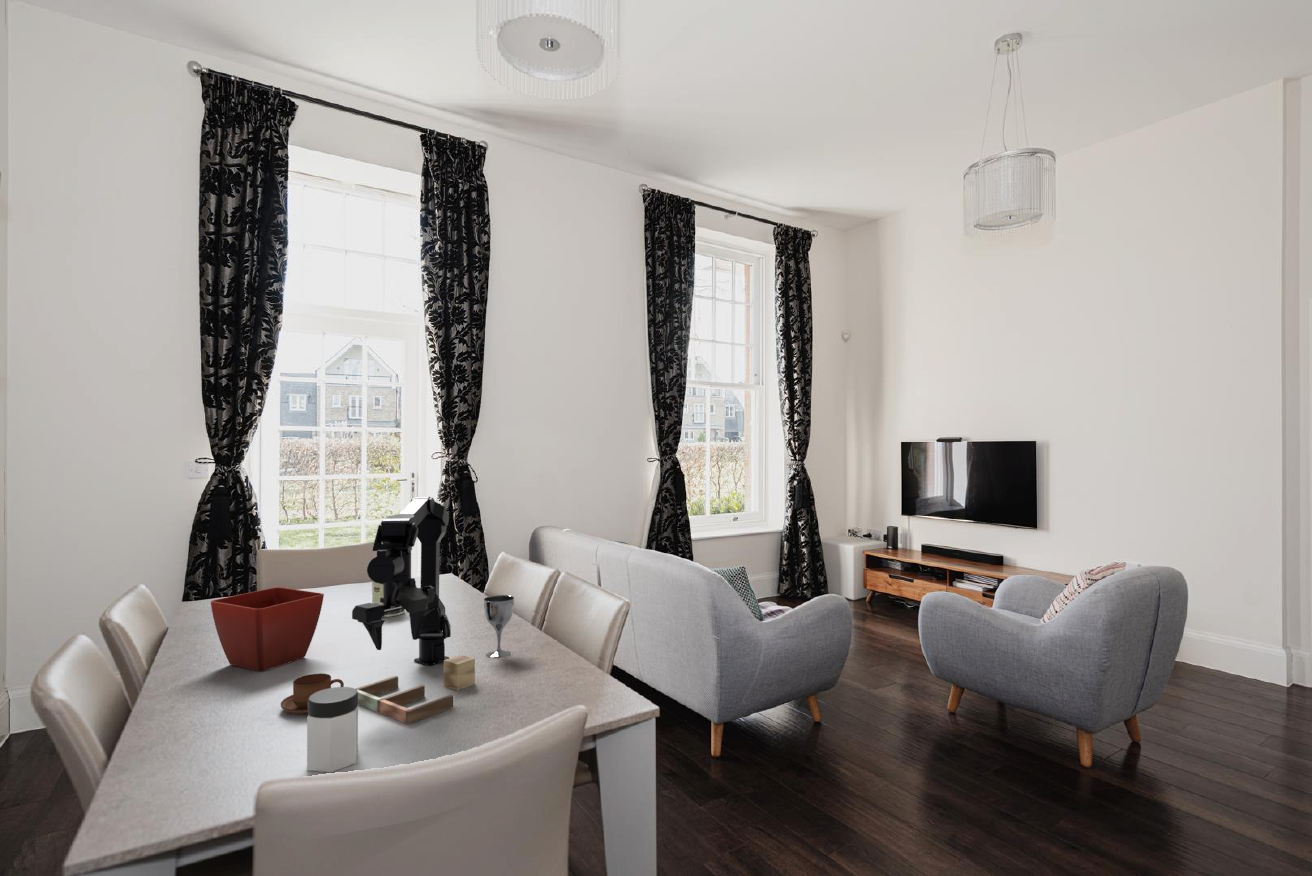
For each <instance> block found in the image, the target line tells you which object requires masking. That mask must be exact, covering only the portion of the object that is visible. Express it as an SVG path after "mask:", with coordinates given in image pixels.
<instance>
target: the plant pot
mask: <svg viewBox="0 0 1312 876" xmlns="http://www.w3.org/2000/svg"><path fill="white" fill-rule="evenodd" d="M324 596H325V594H324V593H323V592H322V593H320V592H315V591H309V590H307V591H306V590H301V589H295V588H293V589H292V588H288V587H281V586H278V587H271V588H265V589H261V590H256V591H252V592H251V591H250V592H247V593H242V594H236V595H231V596H227V597H222V598H221V597H220V598H216V599H213V600H211V601H210V606H211V613H212V618H213V622H214V626H215V629H216V633H217V636H218V640H219V643H220V645H221V647H222V649H223V652H224V655H225V656H226V659H227V661H228V663H229V665H231V666H236V667H240V668H244V669H248V670H250V671H251V670H252V671H257V672H263V671H268V670H271V669H275V668H276V667H281V666H283V665H287V664H289V663H293V662H296V661H298V660H301V659H305V657H306V655H307V653H308V651H309V648H310V646H311V644H312V641H313V638H314V635H315V633H316V629H317V627H318V623H319V619H320V615H321V612H322V607H323V603H324V602H323V601H324Z"/></svg>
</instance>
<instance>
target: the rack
mask: <svg viewBox="0 0 1312 876" xmlns="http://www.w3.org/2000/svg"><path fill="white" fill-rule="evenodd" d="M397 688H399V676H398V675H395V676H391V677H387V678H385V679H381V680H378V681H376V682H373V683H368V684H366V685H362V686H360V687H357V688H355V689H356V690H357V691H358V706H359V705H360V706H362V707H365V708H366V709H370V710H372V711H374V712H377V713H379V714H382V715H384V716H386V717H389V718H392V719H395V720H397V721H399V722H402V723H404V724H407V725H411V724H413V723H416V722H418V721H421V720H424V719H426V718H429V717H432V716H433V715H436V714H438V713H441V712H444V711H446V710H447V711H448V710H449V709H452V708H454V695H453V694H447V695H446V696H442V697H440V698H437V699H434V700H432V701H429V702H428V701H427V702H425V703H423V704H420V705H418V706H415V707H412V708H408V707H405V705H407V704H408V703H412V702H414V701H417V700H420V699H423V698H425V696H426V693H425V692H426V686H425V684H421V685H418V686H415V687H412V688H409V689H406V690H405V689H404V690H403V691H399V692H397V693H394V694H391V695H388V696H385V697H382V698H381V697H379V696H377V695H380V694H383V693H386V692H389V691H392V690H395V689H397ZM403 705H404V706H403Z"/></svg>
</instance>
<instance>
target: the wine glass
mask: <svg viewBox="0 0 1312 876" xmlns="http://www.w3.org/2000/svg"><path fill="white" fill-rule="evenodd" d="M514 608H515V596H513V595H508V594H494V595H489V596H485V597H484V598H483V610H484V616H485V617H484V618H485V619H486V621H487V622H488V624H489V625H490V626H491V628H492V629H493V630H494V631H495V634H496V640H497V649H494V650H491V651H487V652H486V653H485V657H486V656H487V658H490V659H502V658H501V657H504V658H507V657H506V656H508V657H511V656H512V655H511V652H512V651H511V650H508V649H502V648H501V641H502V633H503V631H504V629H505V628H506V626H507V625H508V624H509V622H510V621H511V620H512V617H513V613H514V610H515V609H514Z"/></svg>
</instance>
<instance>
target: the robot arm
mask: <svg viewBox="0 0 1312 876" xmlns="http://www.w3.org/2000/svg"><path fill="white" fill-rule="evenodd" d="M410 499H411V500H410V502H409V503H408V504H407V505H406V506H405V508H403V509H402V510H401V511H400V512H399V513H398V514H395V515H388V516H386V517H384V518H382V520H381V521H380V523H379V524H378V526H377V531H376V535H375V538H374V543H373V546H372V551H373V552H376V556H375V557H373V558H372V559H371V560H370V561H369V563H368V565H367V567H366V568H367V569H366V572H367V576H368V578H369V579H370V580H371V582H372V581H374V582H376V583H380V584H384V597H382V598H380V602H381V603H384V604H383V605H378V604H373V603H372V602H367V603H363V604H357V605H355V606H354V607H353V608H352V611H351V619H352V620H356V621H357V622H358V623H362V625H363V626H364V628H365V630H366V631H367V632H368V635H369V637H370V639H371V640H372V643H373V645H374V646H375V649H376V650H377V651H381V650H382V644H383V626H384V624H385V622H386V620H385V619H383V618H384V617H383V616H384V613H387V612H391V611H396V610H400V609H405V612H406V613H408V614H409V624H410V625H409V626H410V632H411V637H412V640H414V641H417V640H418V656H419V657H417V658H413V662H415V663H420V664H422V665H426V666H433V665H435V664H438V663H442V662H444V660H446V659H449V658H450V657H449V656H446V649H445V648H446V646H445V645H446V644H445V640H446V639H447V638H451V636H452V632H451V631H452V629H451V623H450V620H449V617H448V615H447V614H446V606H445V605H444V604H443V602H442V600H441V599H440V560H441V559H440V555H441V553H440V548H441V540H442V539H443V537H444V536H445V535H446V533H447V526H449V520H450V519H449V516H450V515H449V512H448V511H447V508H446V507H445V506H444V505H443V504H441V503H438V502H437V501H435V499H434V497H431V496H414V497H412V498H410ZM417 539H418V541H419V542H420V587H417V583H416V578H413V577H412V550H413V547H415V545H416V540H417ZM392 606H395V607H392Z"/></svg>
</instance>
